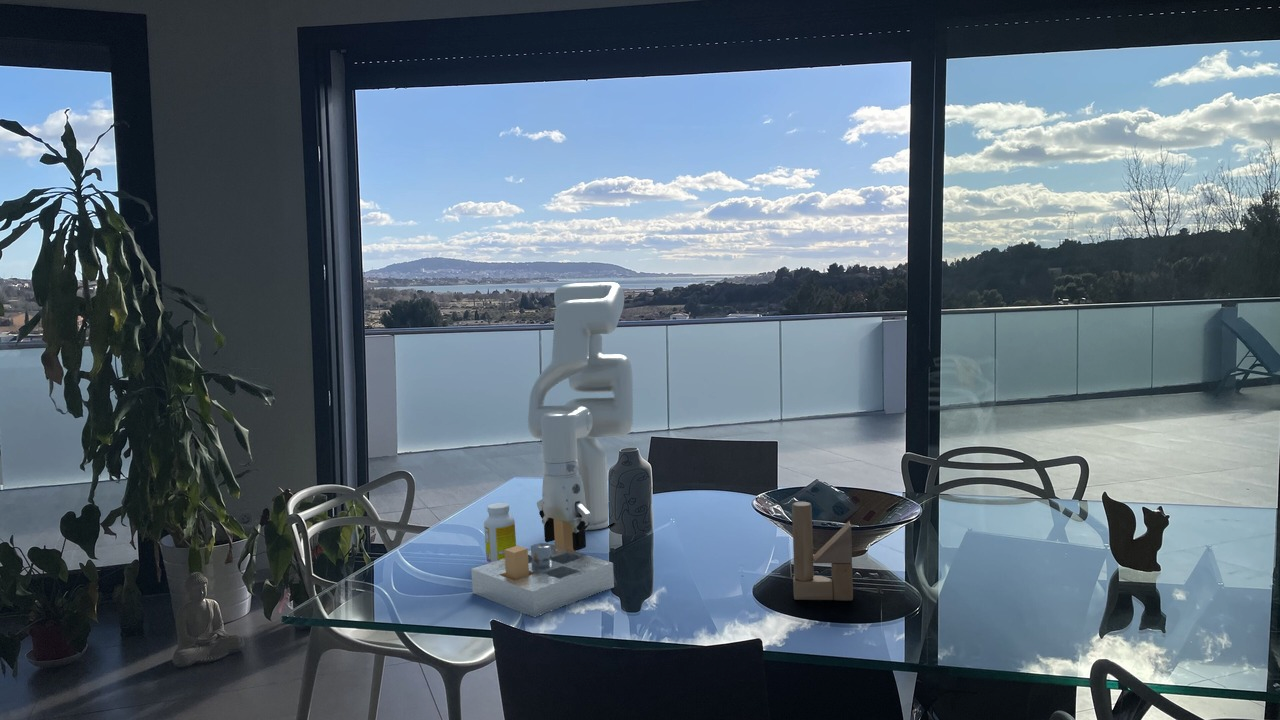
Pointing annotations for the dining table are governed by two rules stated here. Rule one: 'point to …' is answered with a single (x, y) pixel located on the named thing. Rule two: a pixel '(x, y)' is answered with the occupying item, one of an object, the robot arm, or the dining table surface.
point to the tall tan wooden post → (516, 562)
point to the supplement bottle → (498, 531)
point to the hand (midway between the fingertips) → (565, 544)
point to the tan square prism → (563, 534)
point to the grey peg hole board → (544, 580)
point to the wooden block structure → (820, 560)
